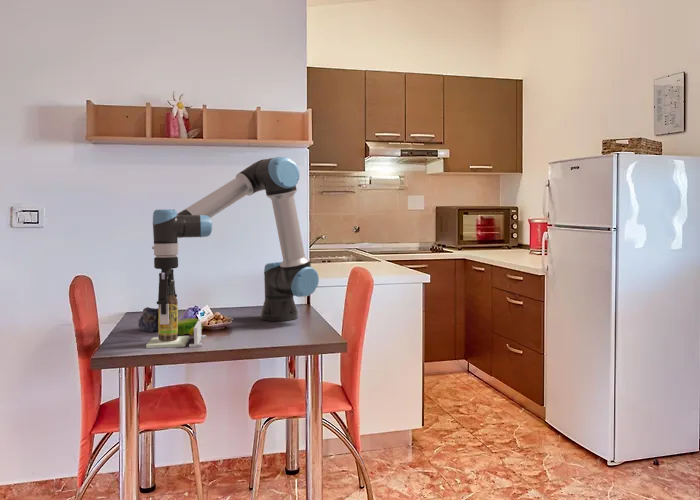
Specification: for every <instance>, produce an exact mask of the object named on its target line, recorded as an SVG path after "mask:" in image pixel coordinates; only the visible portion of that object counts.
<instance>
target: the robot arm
mask: <svg viewBox="0 0 700 500" xmlns="http://www.w3.org/2000/svg"><path fill="white" fill-rule="evenodd" d="M299 180H300V169H299V167H298V165H297V164H296V162H295V161H294V160H292V159H291V158H289V157H286V156H276V157H271V158H265V159H264V158H263V159H260V160H258V161H256V162H254V163H252V164H250V165H249V166H248V167H246V168H245V169H243V170H241V171H240V172H239V173H237V174H236V176H235V178H234V179H233V178H232V180H230V181H228V182H227V183H225V184H224V185H222V186H221V187H219V188H217V189H216V190H214V191H212V192H211V193H209V194H207V195H205V196H204V197H202V198H200V199H199V200H198V201H196V202H195V203H193V204H191V205H189V206H188V207H186V208H185V209H183V210H181V211H179V212H177V210H176V209H165V208H164V209H163V208H161V209H155V210H154V211H153V213H152V235H153V246H152V247H151V249H152V250H153V252H154V253H153V256H155V257H154V258H153V260H154V261H153V267H154V269H157V270H161V271H160V272H159V273H158V297H157V298H158V299H157V301H156V305H158V308H159V311H160V325H162V324H169V304H168V293H169V287H170V286H171V280H174V281H175V276H174V269H177V268H178V267H179V257H178V255H179V243H178V241H179V240H178V239H181V238H207V237H209V236H211V233H212V231H213V222H212V219H211V218H212V217H214V216H215V215H217V214H218V213H220V212H222V211H224V210H225V209H226V208H228V207H230V206H232V205H233V204H235V203H236V202H237V201H239V200H241V199H243V198H244V197H245V196H252V195H254V194H255V193H257V192H261V191H265V194H266V197H267V198H269V199H270V201H271V204H272V209H273V214H274V219H275V224H276V230H277V235H278V241H279V247H280V250H281V256H282V261H278V262H270V263H266V264H265V265H264V269H263V270H264V271H263V275H264V276H263V278H264V279H263V280H264V300H263V301H264V302H263V305H262V309H261V312H260V319H261V320H263V321H268V322H285V321H293V320H295V319H296V320H297V319H298V318H299V312H298V310H297V306H296V303H295V301H294V296H295V297H298V298H302V297H303V298H305V297H310V296H311V295H312V294H314V292H315V291H316V289H317V287H318V285H319V280H320V279H319V278H320V277H319V273H318V271H317V270H316V269H315V268H314V267H312V265H311V261H310V258H308V257H307V256H306V253H305V249H304V244H303V238H302V234H301V227H300V221H299V218H298V211H297V205H296V200H295V194H296V193H297V190H298V188H297V184H298V181H299ZM174 295H175V297H176V298H177V297H178V294H177V293H176V286H175V284H174Z"/></svg>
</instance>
